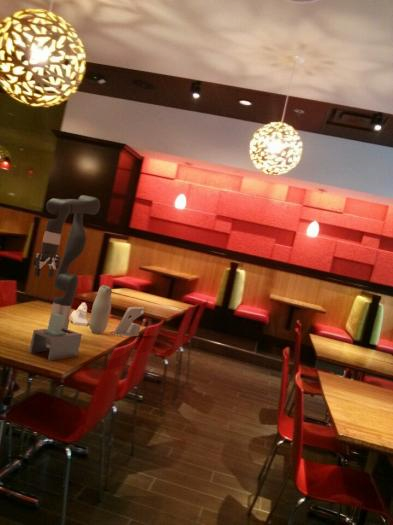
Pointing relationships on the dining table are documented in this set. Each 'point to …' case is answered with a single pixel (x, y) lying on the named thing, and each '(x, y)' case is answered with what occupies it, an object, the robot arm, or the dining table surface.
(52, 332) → the boxy toy figurine
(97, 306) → the grey vase
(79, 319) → the soft serve ice cream
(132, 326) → the phone holder
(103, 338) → the dining table surface
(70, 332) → the grey open box
